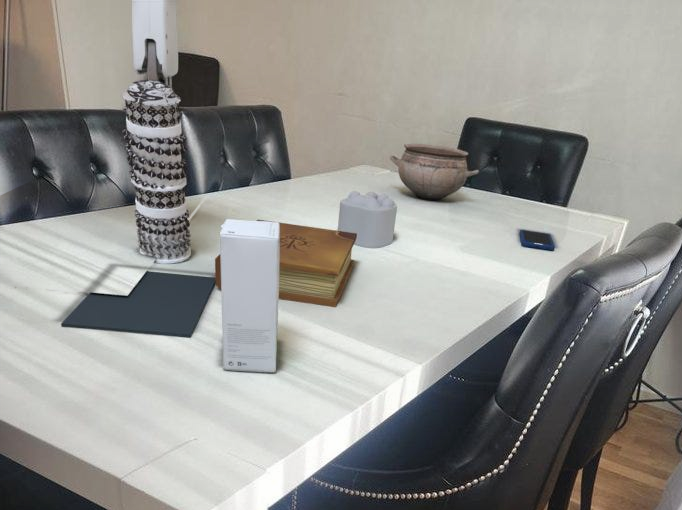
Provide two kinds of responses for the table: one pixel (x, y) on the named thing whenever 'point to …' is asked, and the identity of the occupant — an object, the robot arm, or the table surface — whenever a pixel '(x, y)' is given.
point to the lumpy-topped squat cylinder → (368, 218)
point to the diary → (311, 264)
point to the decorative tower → (157, 170)
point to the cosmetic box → (250, 294)
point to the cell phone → (536, 240)
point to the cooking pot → (432, 170)
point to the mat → (147, 306)
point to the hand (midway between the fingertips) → (162, 128)
